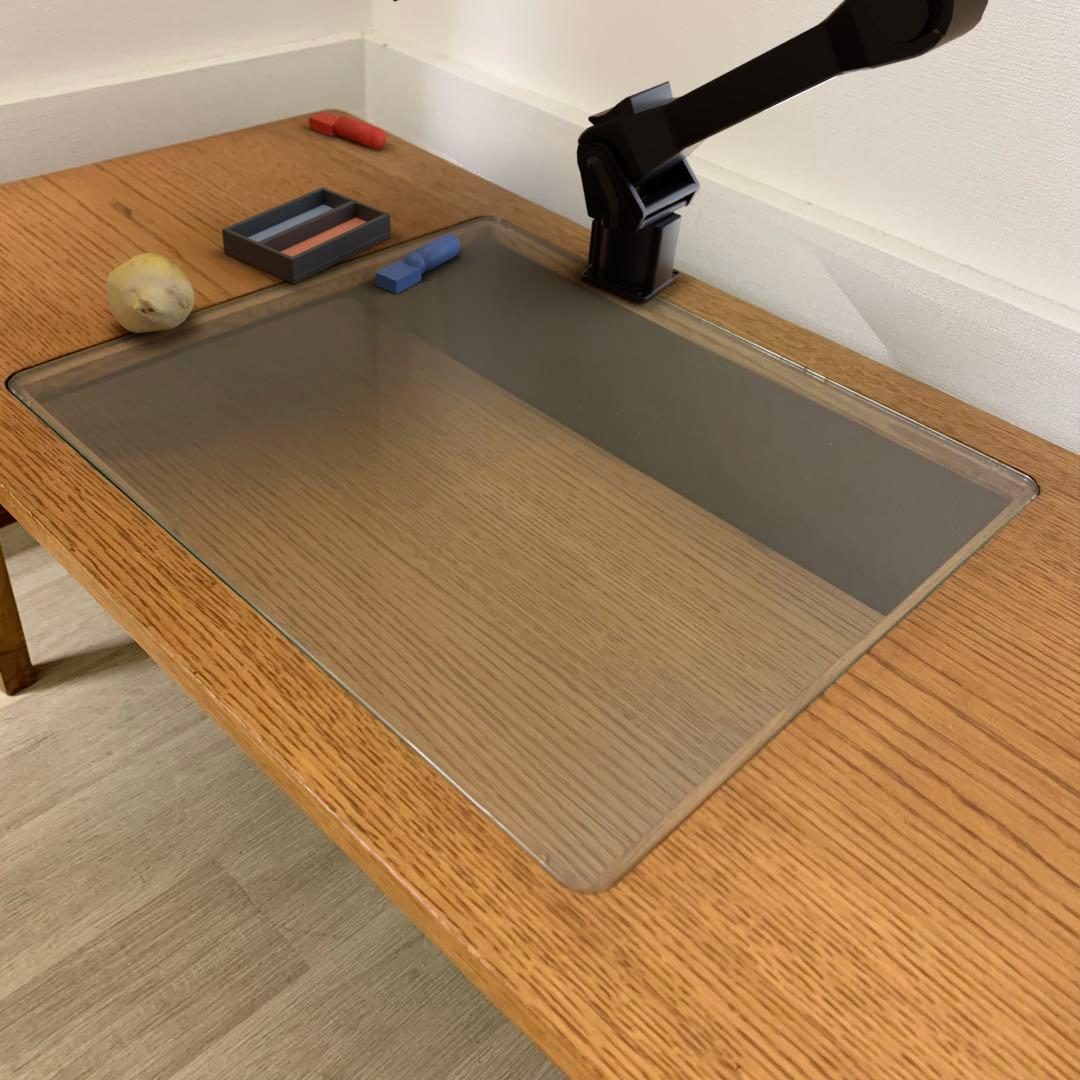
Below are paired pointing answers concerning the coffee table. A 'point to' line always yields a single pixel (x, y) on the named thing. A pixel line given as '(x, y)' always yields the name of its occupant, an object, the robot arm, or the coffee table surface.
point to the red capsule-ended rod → (348, 129)
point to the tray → (306, 234)
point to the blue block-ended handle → (417, 263)
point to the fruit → (149, 294)
